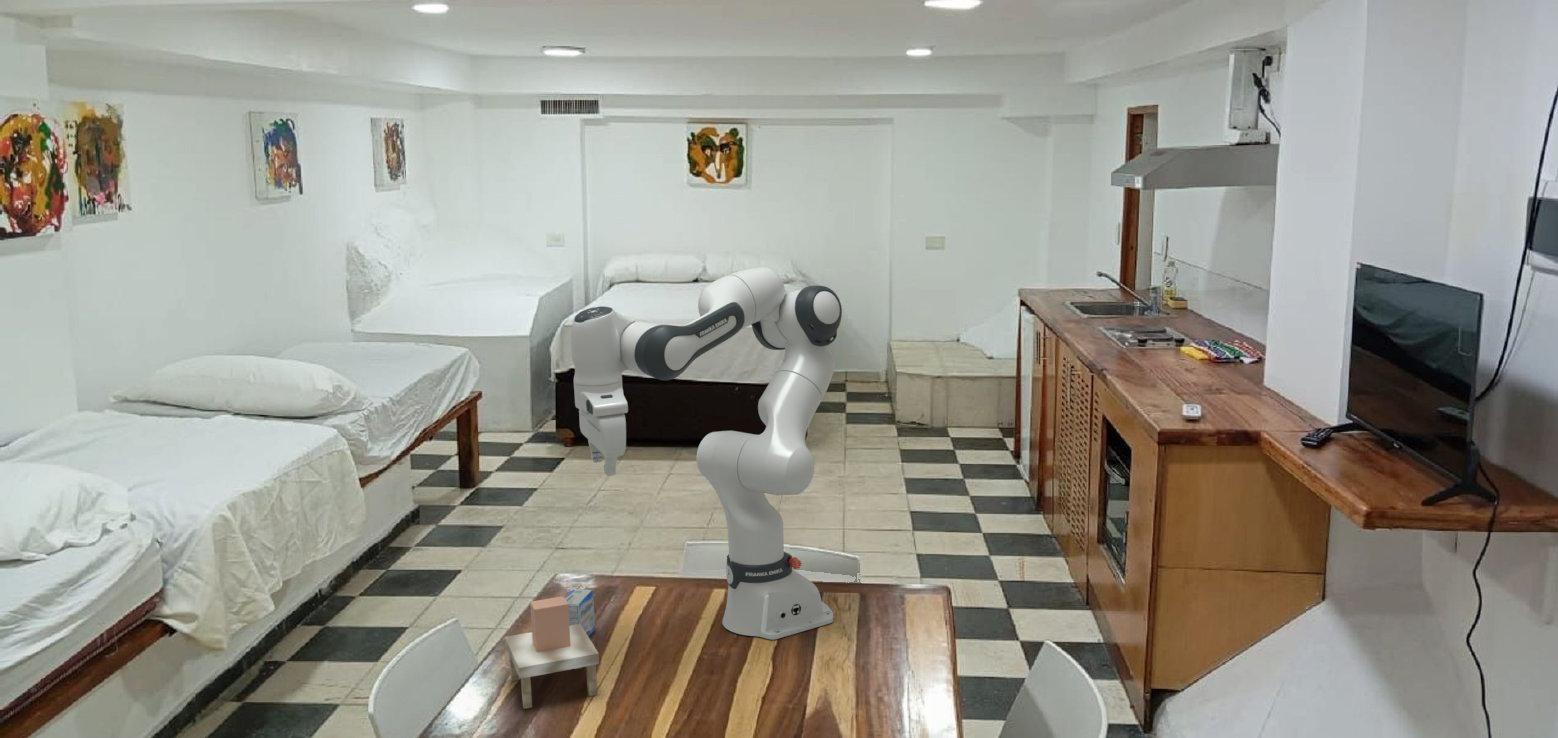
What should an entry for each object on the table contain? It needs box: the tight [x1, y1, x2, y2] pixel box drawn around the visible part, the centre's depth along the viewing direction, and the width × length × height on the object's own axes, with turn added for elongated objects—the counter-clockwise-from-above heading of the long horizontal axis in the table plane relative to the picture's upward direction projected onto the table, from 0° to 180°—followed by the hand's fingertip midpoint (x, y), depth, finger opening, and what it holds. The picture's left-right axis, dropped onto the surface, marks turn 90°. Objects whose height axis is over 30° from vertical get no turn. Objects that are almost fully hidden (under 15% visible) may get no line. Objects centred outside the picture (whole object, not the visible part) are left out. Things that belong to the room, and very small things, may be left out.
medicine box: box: [564, 588, 596, 638], centre depth 239 cm, size 8×4×9 cm, turn 168°
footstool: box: [504, 624, 600, 710], centre depth 218 cm, size 14×14×8 cm
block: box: [529, 595, 571, 652], centre depth 217 cm, size 4×6×8 cm, turn 112°
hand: (603, 467), depth 226 cm, fingers open, 8 cm apart
